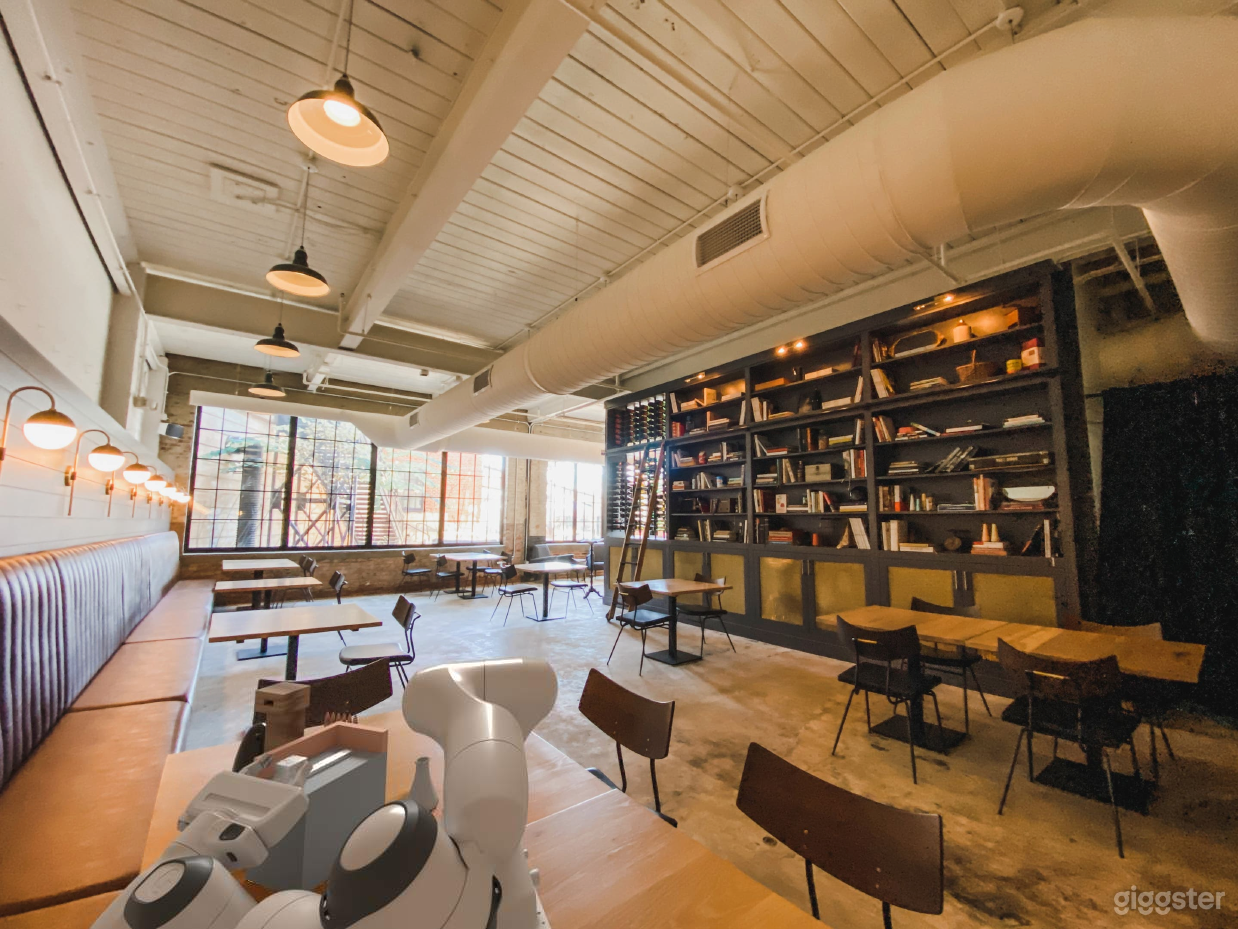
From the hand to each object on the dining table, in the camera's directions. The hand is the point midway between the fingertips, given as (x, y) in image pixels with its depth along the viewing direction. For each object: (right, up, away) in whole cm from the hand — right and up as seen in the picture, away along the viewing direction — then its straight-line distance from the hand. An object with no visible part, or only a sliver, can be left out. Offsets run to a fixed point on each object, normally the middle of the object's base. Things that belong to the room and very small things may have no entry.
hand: (289, 759), depth 90 cm
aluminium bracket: (+2, -5, +5) cm, 7 cm away
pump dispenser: (-27, -25, +29) cm, 47 cm away
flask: (+15, -24, +22) cm, 36 cm away
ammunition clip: (-16, -26, +44) cm, 54 cm away
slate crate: (+2, -22, +5) cm, 22 cm away
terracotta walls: (+2, -5, +7) cm, 9 cm away
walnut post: (-11, -22, +12) cm, 28 cm away
